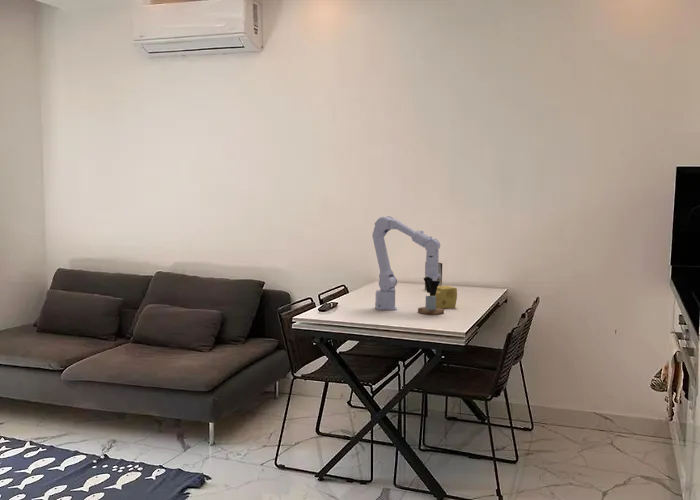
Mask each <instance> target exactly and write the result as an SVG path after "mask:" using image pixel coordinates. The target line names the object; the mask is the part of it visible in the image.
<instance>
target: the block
mask: <svg viewBox="0 0 700 500" xmlns="http://www.w3.org/2000/svg"><path fill="white" fill-rule="evenodd" d="M424 307H425V309H427V310H436V297H435V296H430V295H425V306H424Z"/></svg>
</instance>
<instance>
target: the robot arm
mask: <svg viewBox="0 0 700 500" xmlns="http://www.w3.org/2000/svg"><path fill="white" fill-rule="evenodd" d="M391 230H397V231H399V232H402V233H403V234H405V235H407V236H409V237H410V238H411V240H412V242H414V243H415V244H417V245H419V246H420V247H421V248H425V251H426V257H425V262H426V274H425V273H424V277H423V280H424V285H425V284H426V289H427V290H426V292H427V294H429V296H430V295H431V296H435V294H436V291H437V287H438V285H439V283H440V281H437V277H438V276H440V274H438V263H439V251H440V248H441V243H440V241H439V240H438V239H437V238H433V237H432V236H431V235H430V236H429V235H428V234H426V233H425V232H424V231H423V230H416V231H415V230H414V229H412V228H411V227H409V226H407V225H406V224H405V223H403V222H402V221H400V220H398V219H397V218H394V217H392V216H390V215H389V216H388V215H387V216H381V217H379V218H378V219H377V220H376V221H375V222H374V228H373V231H372V240H373V245H374V249H375V254H376V259H377V264H378V268H379V273H378V274H379V275H378V278H379V279H378V286H379V290H376V291H375V302H374V303H375V304H374V307H375V308H376V310H379V311H383V310H384V311H385V310H386V311H387V310H388V311H391V310H393V311H394V310H395V311H397V309H398V308H397V307H396V287H397V284H398V279H397V278H396V276H395V274H394V271H393V270H392V269H391V265H390V260H389V259H390V258H389V255H388V250H387V245H386V241H385V236H386V235H387V233H388V232H389V231H391ZM425 276H426V277H427V278H425Z"/></svg>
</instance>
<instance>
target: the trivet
mask: <svg viewBox="0 0 700 500" xmlns="http://www.w3.org/2000/svg"><path fill="white" fill-rule="evenodd" d="M425 307H426V306H424V307H423V306H422V307H418V308H417V313H418V314H420V315H429V316H437V315H438V316H439V315H444V314H445V308H443V309H442V308H437V307H436V310H427V309H425Z"/></svg>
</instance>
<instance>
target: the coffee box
mask: <svg viewBox="0 0 700 500" xmlns="http://www.w3.org/2000/svg"><path fill="white" fill-rule="evenodd" d="M424 263H425V264H424V278H427V277H426V276H425V274H426V261H425V262H424ZM438 274H440V276H438V277H437V281H440V283H439V285H438V286H443V262H442V263H441V262H438ZM424 291H427V289H426V284H425V283H424Z"/></svg>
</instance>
